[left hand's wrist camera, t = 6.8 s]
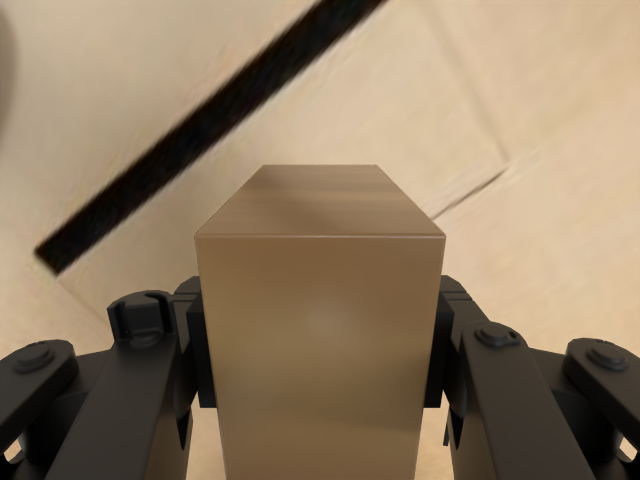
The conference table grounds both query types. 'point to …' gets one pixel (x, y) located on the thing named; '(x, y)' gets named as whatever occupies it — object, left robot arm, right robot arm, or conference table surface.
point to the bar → (320, 323)
